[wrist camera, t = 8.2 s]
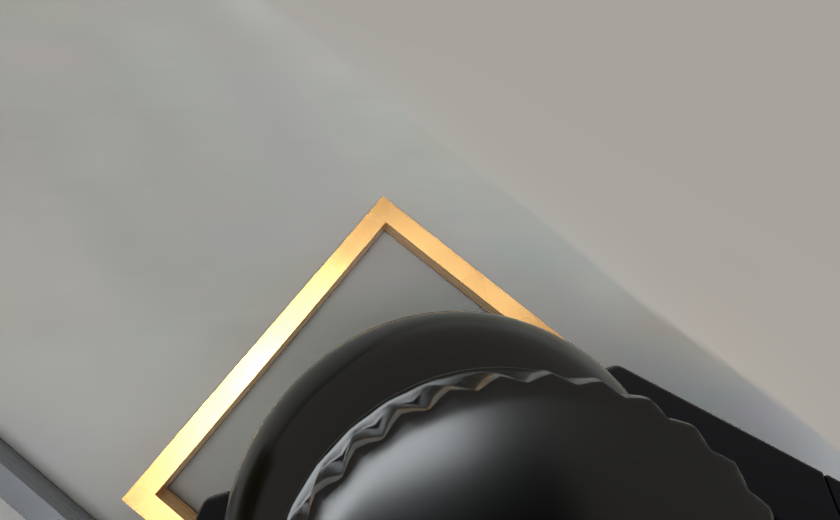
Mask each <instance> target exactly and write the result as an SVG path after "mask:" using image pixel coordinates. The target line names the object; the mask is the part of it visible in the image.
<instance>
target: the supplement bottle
mask: <svg viewBox="0 0 840 520" xmlns="http://www.w3.org/2000/svg"><path fill="white" fill-rule="evenodd" d="M224 520H774V517H773V514H772V511H771V508H770V507H769V506H768V505H767V504H766V503H765V502H764V501H763V500H761V499H760V498H759V497H758V496H756V495H755V494H753V493H752V492H751V491H749V489H748V487H747V485H746V483H745V480H744V478H743V476H742V474H741V472H740V470H739V468H738V466H737V464H736V463H735V462H734V461H732V460H730V459H728V458H727V457H725V456H723V455H721V454H718V453H716V452H714V451H712V450H711V448H710V447H709V446H708V444H707V443H706V441H705V439H704V437H703V436H702V435H701V433H700V432H699V431H698V430H697V428H696V427H695V426H693V425H691V424H689V423H686V422H683V421H679V420H676V419H672V418H668V417H667V416H666V415H665V414H664V413H663V411H662V410H661V408H659V407H658V406H657V405H656V404H655V403H654V402H653V401H652V400H651V399H649V398H647V397H645V396H641V395H631V394H629V393H628V391H627V390H626V389H625V388H624V387H623V385H622V384H621V383H620V382H619V381H618V380H617V379H616V378H615V377H614V376H612V375H611V374H610V373H609V372H608V371H607V370H606V369H605V368H604V367H603V366H602V365H600V364H599V363H598V362H597V361H595V360H594V359H593V358H592V357H591V356H589V355H588V354H586V353H585V352H583V351H582V350H580V349H579V348H578V347H576V346H575V345H573V344H571V343H570V342H568V341H566V340H564V339H562V338H561V337H559V336H557V335H555V334H553V333H551V332H549V331H547V330H544V329H542V328H540V327H537V326H535V325H533V324H530V323H526V322H523V321H520V320H517V319H514V318H510V317H505V316H501V315H496V314H491V313H482V312H474V311H443V312H431V313H425V314H419V315H414V316H409V317H405V318H401V319H398V320H395V321H391V322H388V323H385V324H382V325H380V326H378V327H375V328H373V329H370V330H368V331H365V332H363V333H362V334H360V335H358V336H356V337H354V338H352V339H350V340H348V341H346V342H345V343H343V344H342V345H340V346H339V347H337V348H335V349H334V350H332V351H331V352H329V353H328V354H326V355H325V356H324V357H323V358H321V359H320V360H319V361H318V362H316V363H315V364H314V365H313V366H311V367H310V368H309V369H308V370H307V371H306V372H305V373H304V374H303V375H302V376H301V377H300V378H299V379H298V380H296V381H295V382H294V383H293V384H292V385H291V387H290V388H289V389H288V390H287V391H286V392H285V394H284V395H283V396H282V397H281V398H280V399H279V401H278V402H277V403H276V404H275V406H274V407H273V409H272V410H271V411H270V413H269V414H268V416H267V417H266V418H265V420H264V421H263V423H262V424H261V426H260V428H259V429H258V431H257V433H256V435H255V436H254V438H253V440H252V441H251V443H250V445H249V447H248V449H247V452H246V454H245V456H244V458H243V460H242V462H241V465H240V467H239V469H238V472H237V475H236V478H235V480H234V483H233V486H232V489H231V492H230V496H229V499H228V503H227V507H226V511H225V515H224Z"/></svg>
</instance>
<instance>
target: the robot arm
mask: <svg viewBox="0 0 840 520" xmlns="http://www.w3.org/2000/svg"><path fill="white" fill-rule="evenodd" d="M605 369H606V370H607V371H608V372H609V373H610V374H611V375H612V376H614V377H615V378H616V379H617V380H618V381H619V382H620V383H621V384H622V385H623V387H624V388H625V389H626V390H627V391H628V393H629V394H631V395H641V396H645V397H647V398H649V399H651V400H652V401H653V402H654V403H655V404H656V405H657V406H658V407H659V408H661V410H662V411H663V413H664V414H665V415H666V416H667V417H668V418H672V419H676V420H679V421H683V422H686V423H689V424H691V425H693V426H695V427H696V428H697V430H698V431H699V432H700V433H701V435H702V436H703V437H704V439H705V441H706V443H707V444H708V446H709V447H710V448H711V450H712V451H714V452H716V453H718V454H721V455H723V456H725V457H727V458H728V459H730V460H732V461H734V462H735V463H736V464H737V466H738V468H739V470H740V472H741V474H742V476H743V478H744V480H745V483H746V485H747V487H748V489H749V491H751V492H752V493H753V494H755V495H756V496H758V497H759V498H760V499H761V500H763V501H764V502H765V503H766V504H767V505H768V506H769V507H770V508H771V511H772V514H773V517H774V520H840V481H838V480H836V479H834V478H832V477H831V476H828V475H825V476H824V475H823V473H822V472H821V471H819V470H817V469H815V468H813V467H811V466H809V465H807V464H805V463H804V462H802V461H800V460H798V459H796V458H794V457H792V456H790V455H788V454H786V453H784V452H783V451H781V450H779V449H777V448H775V447H773V446H771V445H769V444H767V443H765V442H764V441H762V440H760V439H758V438H756V437H754V436H752V435H750V434H748V433H746V432H745V431H743V430H741V429H739V428H737V427H735V426H733V425H731V424H729V423H727V422H726V421H724V420H722V419H720V418H718V417H716V416H714V415H712V414H710V413H708V412H706V411H705V410H703V409H701V408H699V407H697V406H695V405H693V404H691V403H689V402H687V401H686V400H684V399H682V398H680V397H678V396H676V395H674V394H672V393H670V392H668V391H667V390H665V389H663V388H661V387H659V386H657V385H655V384H653V383H651V382H649V381H648V380H646V379H644V378H642V377H640V376H638V375H636V374H634V373H632V372H630V371H628V370H627V369H625V368H623V367H620V366H611V367H608V368H605ZM229 496H230V491H227V492H224V493H221V494H217V495H214V496H211V497H209V498H207V499H206V500H205V501H204V503H203V505H202V507H201V509H200V511H199V513H198V515H197V517H196V519H195V520H224V515H225V511H226V507H227V503H228V499H229Z"/></svg>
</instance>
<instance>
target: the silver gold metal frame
mask: <svg viewBox="0 0 840 520" xmlns="http://www.w3.org/2000/svg"><path fill="white" fill-rule="evenodd" d="M384 230H385V231H386V232H387V233H388V234H390V235H391V236H392V237H393V238H395V239H396V240H397V241H398V242H400V243H401V244H402V245H404V246H405V247H406V248H407V249H409V250H410V251H411V252H412V253H414V254H415V255H416V256H417V257H419V258H420V259H421V260H422V261H424V262H425V263H426V264H428V265H429V266H430V267H431V268H433V269H434V270H435V271H436V272H438V273H439V274H440V275H441V276H443V277H444V278H445V279H446V280H448V281H449V282H450V283H452V284H453V285H454V286H455V287H457V288H458V289H459V290H460V291H462V292H463V293H464V294H465V295H467V296H468V297H469V298H470V299H472V300H473V301H474V302H476V303H477V304H478V305H479V306H481V307H482V308H483V309H484V310H486V311H487V312H488V313H491V314H496V315H501V316H505V317H510V318H514V319H517V320H520V321H523V322H526V323H530V324H533V325H535V326H537V327H540V328H542V329H544V330H547V331H549V332H551V333H553V334H555V335H557V336H559V337H561V336H560V335H558V334H557V333H556V332H555V331H553V330H552V329H551V328H550V327H548V326H547V325H546V324H544V323H543V322H542V321H541V320H539V319H538V318H537V317H536V316H534V315H533V314H532V313H531V312H529V311H528V310H527V309H525V308H524V307H523V306H522V305H520V304H519V303H518V302H517V301H515V300H514V299H513V298H511V297H510V296H509V295H508V294H506V293H505V292H504V291H503V290H501V289H500V288H499V287H497V286H496V285H495V284H494V283H492V282H491V281H490V280H489V279H487V278H486V277H485V276H484V275H482V274H481V273H480V272H478V271H477V270H476V269H475V268H473V267H472V266H471V265H470V264H468V263H467V262H466V261H464V260H463V259H462V258H461V257H459V256H458V255H457V254H456V253H454V252H453V251H452V250H451V249H449V248H448V247H447V246H445V245H444V244H443V243H442V242H440V241H439V240H438V239H437V238H435V237H434V236H433V235H431V234H430V233H429V232H428V231H426V230H425V229H424V228H423V227H421V226H420V225H419V224H418V223H416V222H415V221H414V220H412V219H411V218H410V217H409V216H407V215H406V214H405V213H404V212H402V211H401V210H400V209H398V208H397V207H396V206H395V205H393V204H392V203H391V202H390V201H388V200H387V199H386V198H384V197H382V198H381V199H380V200H379V201H378V202H377V204H376V205H375V206H374V207H373V208H372V209H371V211H370V212H369V213H368V214H367V215H366V216H365V217H364V219H363V220H362V221H361V222H360V223H359V224H358V226H357V227H356V228H355V229H354V230H353V231H352V233H351V234H350V235H349V236H348V237H347V238H346V240H345V241H344V242H343V243H342V244H341V245H340V247H339V248H338V249H337V250H336V251H335V252H334V253H333V255H332V256H331V257H330V258H329V259H328V260H327V262H326V263H325V264H324V265H323V266H322V267H321V269H320V270H319V271H318V272H317V273H316V274H315V276H314V277H313V278H312V279H311V280H310V281H309V282H308V284H307V285H306V286H305V287H304V288H303V289H302V291H301V292H300V293H299V294H298V295H297V296H296V298H295V299H294V300H293V301H292V302H291V303H290V305H289V306H288V307H287V308H286V309H285V310H284V312H283V313H282V314H281V315H280V316H279V317H278V318H277V320H276V321H275V322H274V323H273V324H272V325H271V327H270V328H269V329H268V330H267V331H266V332H265V334H264V335H263V336H262V337H261V338H260V339H259V341H258V342H257V343H256V344H255V345H254V346H253V347H252V349H251V350H250V351H249V352H248V353H247V354H246V356H245V357H244V358H243V359H242V360H241V361H240V363H239V364H238V365H237V366H236V367H235V368H234V370H233V371H232V372H231V373H230V374H229V375H228V376H227V378H226V379H225V380H224V381H223V382H222V383H221V385H220V386H219V387H218V388H217V389H216V390H215V392H214V393H213V394H212V395H211V396H210V397H209V399H208V400H207V401H206V402H205V403H204V404H203V406H202V407H201V408H200V409H199V410H198V411H197V412H196V414H195V415H194V416H193V417H192V418H191V419H190V421H189V422H188V423H187V424H186V425H185V426H184V428H183V429H182V430H181V431H180V432H179V433H178V435H177V436H176V437H175V438H174V439H173V440H172V441H171V443H170V444H169V445H168V446H167V447H166V448H165V450H164V451H163V452H162V453H161V454H160V455H159V457H158V458H157V459H156V460H155V461H154V462H153V464H152V465H151V466H150V467H149V468H148V469H147V470H146V472H145V473H144V474H143V475H142V476H141V477H140V479H139V480H138V481H137V482H136V483H135V484H134V486H133V487H132V488H131V489H130V490H129V491H128V493H127V494H126V495H125V496H124V497H123V498H122V500H123V501H124V502H125V503H127V504H128V505H129V506H130V507H131V508H132V509H134V510H135V511H136V512H137V513H138V514H139V515H141V516H142V517H143V518H144V519H145V520H195V519H196V517H197V515H198V514H197V513H196V512H195V511H194V510H193V509H191V508H190V507H189V506H188V505H187V504H186V503H184V502H183V501H182V500H181V499H180V498H178V497H177V496H176V495H175V494H174V493H173V492H171V491H170V490H169V489H168V488H167V487H168V486H169V485H170V484H171V483H172V481H173V480H174V479H175V478H176V477H177V475H178V474H179V473H180V472H181V471H182V470H183V468H184V467H185V466H186V465H187V464H188V462H189V461H190V460H191V459H192V458H193V457H194V455H195V454H196V453H197V452H198V451H199V449H200V448H201V447H202V446H203V445H204V443H205V442H206V441H207V440H208V439H209V438H210V436H211V435H212V434H213V433H214V432H215V430H216V429H217V428H218V427H219V426H220V425H221V423H222V422H223V421H224V420H225V419H226V417H227V416H228V415H229V414H230V413H231V412H232V410H233V409H234V408H235V407H236V406H237V404H238V403H239V402H240V401H241V400H242V399H243V397H244V396H245V395H246V394H247V393H248V391H249V390H250V389H251V388H252V387H253V385H254V384H255V383H256V382H257V381H258V380H259V378H260V377H261V376H262V375H263V374H264V372H265V371H266V370H267V369H268V368H269V367H270V365H271V364H272V363H273V362H274V361H275V359H276V358H277V357H278V356H279V355H280V354H281V352H282V351H283V350H284V349H285V348H286V346H287V345H288V344H289V343H290V342H291V340H292V339H293V338H294V337H295V336H296V335H297V333H298V332H299V331H300V330H301V329H302V327H303V326H304V325H305V324H306V323H307V322H308V320H309V319H310V318H311V317H312V316H313V314H314V313H315V312H316V311H317V310H318V309H319V307H320V306H321V305H322V304H323V303H324V301H325V300H326V299H327V298H328V297H329V296H330V294H331V293H332V292H333V291H334V290H335V288H336V287H337V286H338V285H339V284H340V282H341V281H342V280H343V279H344V278H345V277H346V275H347V274H348V273H349V272H350V271H351V269H352V268H353V267H354V266H355V265H356V264H357V262H358V261H359V260H360V259H361V258H362V256H363V255H364V254H365V253H366V252H367V251H368V249H369V248H370V247H371V246H372V245H373V243H374V242H375V241H376V240H377V239H378V238H379V236H380V235H381V234H382V233H383V232H384ZM561 338H562V337H561ZM562 339H564V338H562ZM564 340H565V339H564ZM0 497H1V498H2V499H3V500H4V501H5V502H7V503H8V504H9V505H10V506H11V507H12V508H13V509H15V510H16V511H17V512H18V513H19V514H20V515H22V516H23V517H24V518H25V519H26V520H94V519H93V518H92V517H91V516H90V515H88V514H87V513H86V512H85V511H84V510H83V509H81V508H80V507H79V506H78V505H77V504H76V503H74V502H73V501H72V500H71V499H70V498H69V497H67V496H66V495H65V494H64V493H63V492H62V491H60V490H59V489H58V488H57V487H56V486H55V485H53V484H52V483H51V482H50V481H49V480H48V479H46V478H45V477H44V476H43V475H42V474H41V473H39V472H38V471H37V470H36V469H35V468H34V467H32V466H31V465H30V464H29V463H28V462H27V461H25V460H24V459H23V458H22V457H21V456H20V455H18V454H17V453H16V452H15V451H14V450H13V449H11V448H10V447H9V446H8V445H7V444H6V443H4V442H3V441H2V440H1V439H0Z"/></svg>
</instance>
